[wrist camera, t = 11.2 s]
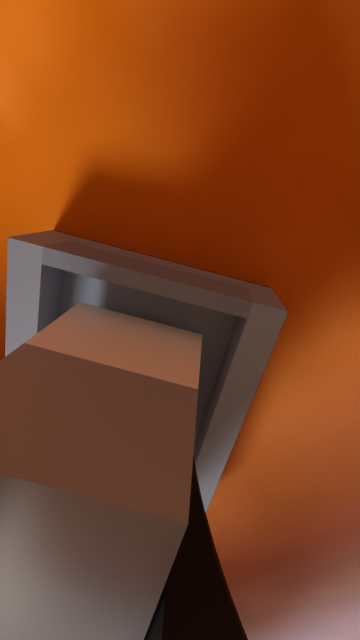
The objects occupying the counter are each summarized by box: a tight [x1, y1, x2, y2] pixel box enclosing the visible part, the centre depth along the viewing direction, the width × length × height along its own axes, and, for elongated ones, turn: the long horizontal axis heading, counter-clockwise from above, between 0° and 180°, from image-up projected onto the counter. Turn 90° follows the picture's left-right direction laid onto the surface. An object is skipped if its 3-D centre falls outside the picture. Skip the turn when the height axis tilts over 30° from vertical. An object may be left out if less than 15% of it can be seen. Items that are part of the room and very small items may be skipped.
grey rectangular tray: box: [5, 230, 288, 513], centre depth 11 cm, size 11×8×2 cm
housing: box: [0, 302, 202, 640], centre depth 8 cm, size 4×8×6 cm, turn 166°
